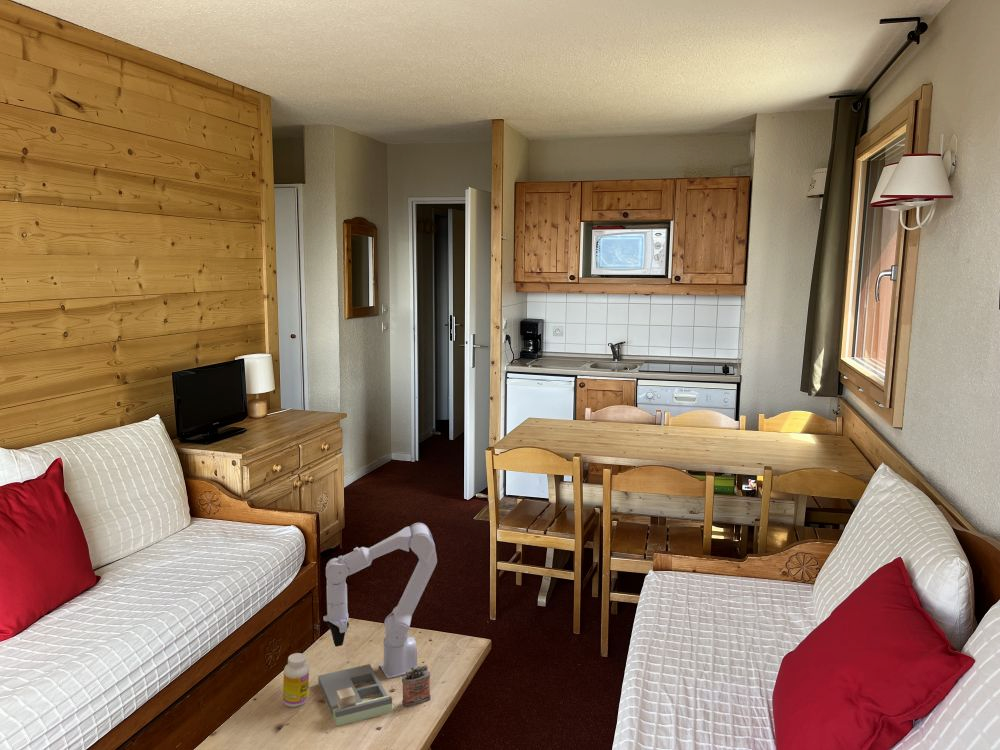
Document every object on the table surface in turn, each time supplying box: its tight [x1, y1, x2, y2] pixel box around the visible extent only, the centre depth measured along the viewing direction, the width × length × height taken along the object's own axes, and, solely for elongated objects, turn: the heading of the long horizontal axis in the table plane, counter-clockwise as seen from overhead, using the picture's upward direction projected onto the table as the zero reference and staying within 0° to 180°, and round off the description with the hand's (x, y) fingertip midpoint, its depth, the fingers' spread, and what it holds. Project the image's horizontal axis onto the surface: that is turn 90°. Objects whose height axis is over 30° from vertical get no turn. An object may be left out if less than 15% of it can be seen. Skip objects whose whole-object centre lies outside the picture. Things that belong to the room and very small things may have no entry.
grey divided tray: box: [317, 663, 393, 727], centre depth 209 cm, size 15×22×4 cm
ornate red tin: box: [401, 664, 432, 708], centre depth 206 cm, size 8×3×10 cm, turn 117°
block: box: [337, 687, 356, 709], centre depth 200 cm, size 4×4×4 cm
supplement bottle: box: [282, 652, 310, 708], centre depth 206 cm, size 7×7×13 cm
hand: (338, 645), depth 219 cm, fingers closed
